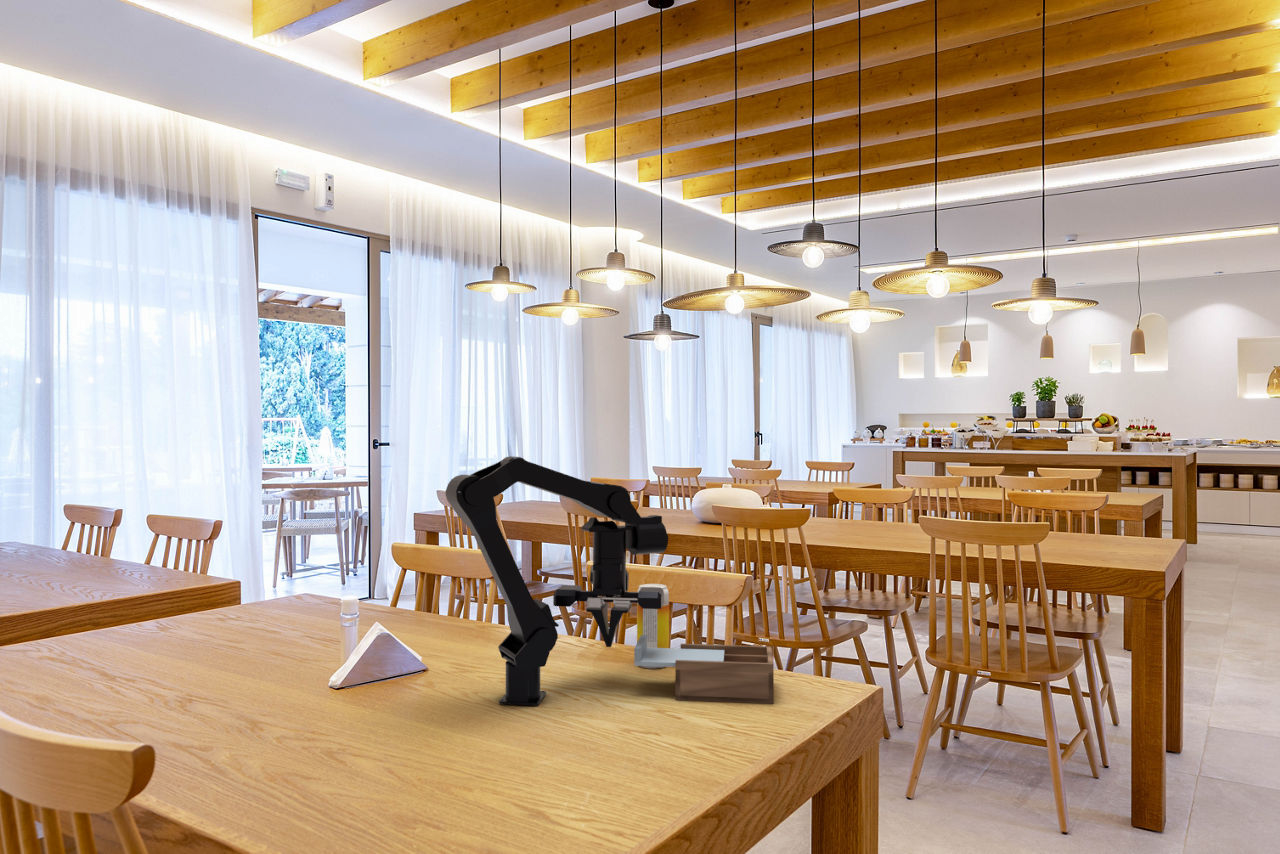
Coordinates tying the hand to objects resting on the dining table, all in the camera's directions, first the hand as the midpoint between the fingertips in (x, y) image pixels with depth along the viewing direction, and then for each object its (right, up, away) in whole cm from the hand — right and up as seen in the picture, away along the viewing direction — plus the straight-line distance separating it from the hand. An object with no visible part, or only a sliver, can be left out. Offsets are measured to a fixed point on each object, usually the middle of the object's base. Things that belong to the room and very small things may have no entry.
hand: (609, 646), depth 147 cm
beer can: (+8, -7, +14) cm, 18 cm away
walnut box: (+20, -7, -2) cm, 21 cm away
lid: (+12, -2, -2) cm, 13 cm away
